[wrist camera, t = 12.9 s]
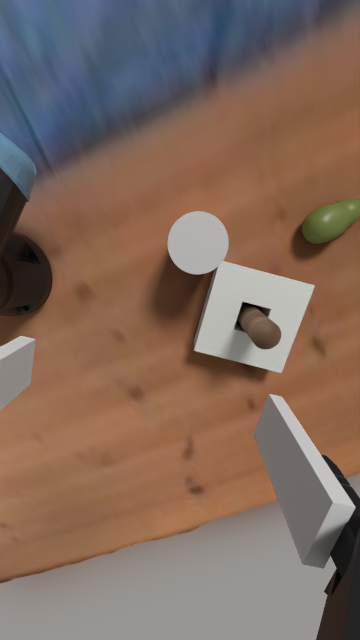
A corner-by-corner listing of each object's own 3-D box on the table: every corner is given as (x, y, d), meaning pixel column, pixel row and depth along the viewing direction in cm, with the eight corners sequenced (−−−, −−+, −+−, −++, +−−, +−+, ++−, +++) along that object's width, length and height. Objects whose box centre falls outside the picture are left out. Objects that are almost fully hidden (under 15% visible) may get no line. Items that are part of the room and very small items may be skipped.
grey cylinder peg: (210, 215, 46) (217, 201, 34) (224, 260, 48) (236, 262, 36) (166, 232, 47) (158, 224, 35) (182, 275, 49) (179, 282, 37)
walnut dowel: (232, 320, 50) (247, 345, 37) (238, 300, 49) (257, 318, 36) (252, 326, 50) (275, 352, 37) (259, 306, 49) (285, 325, 36)
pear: (309, 213, 40) (367, 184, 40) (291, 220, 45) (342, 194, 46) (322, 247, 41) (378, 218, 42) (302, 251, 46) (352, 225, 47)
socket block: (193, 341, 52) (194, 350, 47) (217, 259, 48) (220, 260, 43) (272, 361, 52) (281, 373, 47) (302, 282, 48) (314, 285, 43)
